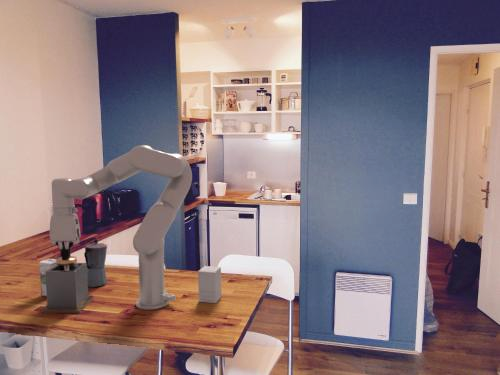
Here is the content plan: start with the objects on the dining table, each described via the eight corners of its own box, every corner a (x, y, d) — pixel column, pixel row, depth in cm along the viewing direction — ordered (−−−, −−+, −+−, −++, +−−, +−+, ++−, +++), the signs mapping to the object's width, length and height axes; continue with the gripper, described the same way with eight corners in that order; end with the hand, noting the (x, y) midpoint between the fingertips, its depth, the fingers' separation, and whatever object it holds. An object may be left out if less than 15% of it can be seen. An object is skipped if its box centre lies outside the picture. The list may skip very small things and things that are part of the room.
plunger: (82, 290, 166) (80, 255, 165) (73, 297, 158) (72, 261, 157) (62, 290, 166) (60, 255, 165) (53, 297, 159) (51, 261, 157)
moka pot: (114, 279, 193) (112, 236, 190) (98, 291, 178) (96, 245, 175) (94, 278, 194) (92, 236, 191) (77, 290, 179) (74, 244, 176)
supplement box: (221, 296, 172) (221, 266, 170) (215, 303, 165) (215, 272, 163) (204, 295, 174) (204, 265, 172) (198, 301, 166) (197, 270, 165)
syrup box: (62, 292, 176) (60, 259, 174) (52, 297, 170) (50, 263, 169) (51, 291, 178) (49, 257, 176) (40, 296, 172) (38, 261, 170)
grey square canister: (93, 298, 170) (92, 261, 168) (79, 312, 156) (77, 273, 154) (59, 298, 170) (57, 261, 168) (41, 312, 156) (39, 272, 154)
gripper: (87, 209, 162) (89, 256, 164) (48, 209, 162) (51, 255, 165) (79, 213, 155) (81, 261, 157) (38, 212, 155) (41, 261, 157)
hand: (65, 258), depth 161 cm, fingers closed
